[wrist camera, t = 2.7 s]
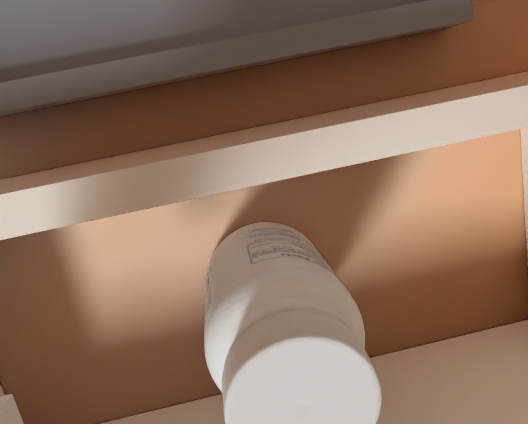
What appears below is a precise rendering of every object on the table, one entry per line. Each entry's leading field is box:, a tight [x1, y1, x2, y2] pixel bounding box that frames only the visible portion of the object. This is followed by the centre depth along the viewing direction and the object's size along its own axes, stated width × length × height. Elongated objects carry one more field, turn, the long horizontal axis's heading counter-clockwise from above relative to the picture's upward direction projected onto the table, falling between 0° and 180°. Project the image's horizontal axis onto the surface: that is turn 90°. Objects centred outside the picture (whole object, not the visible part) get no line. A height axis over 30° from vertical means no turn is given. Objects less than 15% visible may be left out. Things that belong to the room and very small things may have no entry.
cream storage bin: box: [0, 71, 528, 424], centre depth 14 cm, size 23×11×6 cm, turn 101°
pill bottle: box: [204, 222, 382, 424], centre depth 13 cm, size 4×4×8 cm
